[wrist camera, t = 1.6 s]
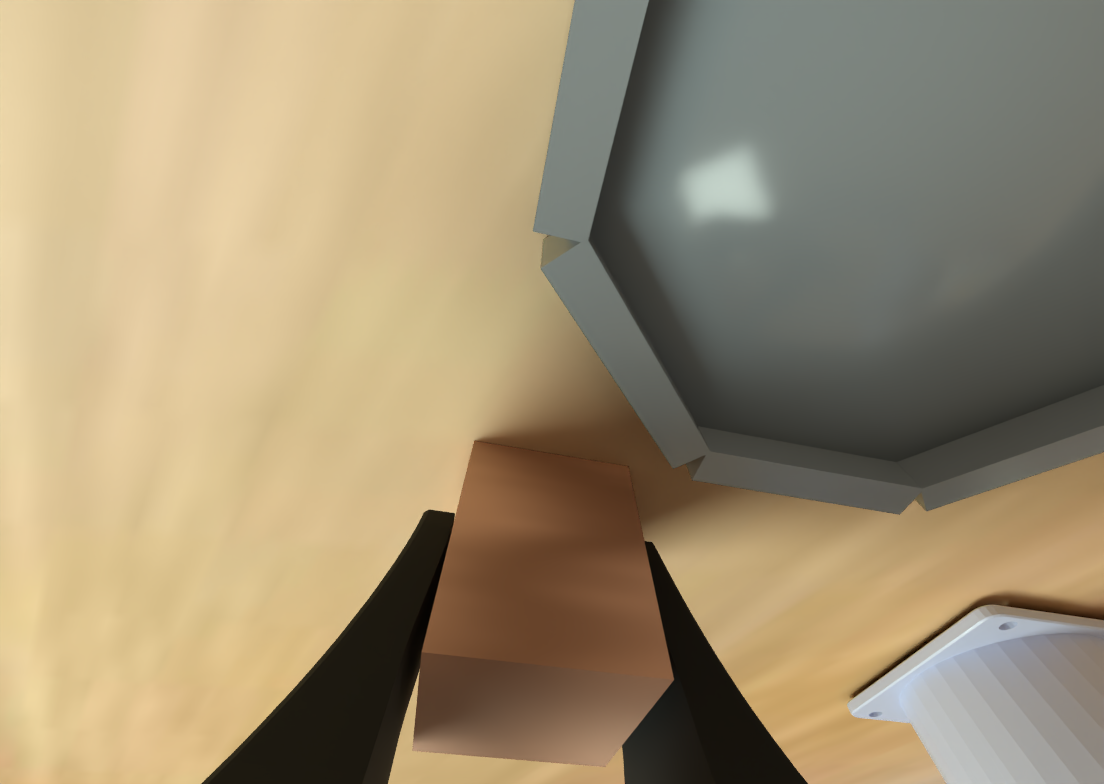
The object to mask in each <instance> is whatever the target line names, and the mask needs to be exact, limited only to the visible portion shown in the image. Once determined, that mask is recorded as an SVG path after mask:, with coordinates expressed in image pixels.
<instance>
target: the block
mask: <svg viewBox="0 0 1104 784" xmlns="http://www.w3.org/2000/svg"><path fill="white" fill-rule="evenodd" d="M673 681H674V677H673V672H672V668H671V663H670V658H669V654H668V649H667V644H666V640H665V635H664V630H663V626H662V621H661V616H660V612H659V607H658V602H657V598H656V593H655V588H654V584H653V579H652V574H651V570H650V565H649V560H648V556H647V551H646V546H645V542H644V537H643V532H642V528H641V523H640V518H639V514H638V509H637V504H636V500H635V495H634V490H633V486H632V481H631V476H630V472H629V467H628V466H623V465H617V464H611V463H605V462H599V461H593V460H587V459H581V458H575V457H569V456H563V455H557V454H551V453H545V452H539V451H533V450H527V449H521V448H515V447H509V446H503V445H497V444H491V443H485V442H479V441H474V444H473V448H472V452H471V456H470V460H469V464H468V468H467V472H466V476H465V480H464V484H463V488H462V492H461V496H460V500H459V504H458V508H457V512H456V516H455V520H454V524H453V528H452V532H451V536H450V540H449V544H448V548H447V552H446V556H445V560H444V564H443V568H442V572H441V576H440V580H439V584H438V588H437V592H436V596H435V600H434V604H433V608H432V612H431V616H430V620H429V624H428V628H427V632H426V636H425V640H424V644H423V648H422V653H421V664H420V674H419V685H418V696H417V707H416V717H415V728H414V739H413V750H412V751H421V752H432V753H444V754H456V755H468V756H480V757H492V758H504V759H516V760H528V761H539V762H551V763H563V764H575V765H587V766H599V767H605V766H606V765H607V764H608V763H609V761H610V760H611V759H612V758H613V756H614V755H615V754H616V752H617V751H618V750H619V749H620V747H621V746H622V745H623V744H624V742H625V741H626V740H627V739H628V737H629V736H630V735H631V734H632V732H633V731H634V730H635V729H636V727H637V726H638V725H639V723H640V722H641V721H642V720H643V718H644V717H645V716H646V715H647V713H648V712H649V711H650V710H651V708H652V707H653V706H654V705H655V703H656V702H657V701H658V699H659V698H660V697H661V696H662V694H663V693H664V692H665V691H666V689H667V688H668V687H669V686H670V684H671V683H672V682H673Z"/></svg>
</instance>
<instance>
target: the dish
mask: <svg viewBox="0 0 1104 784" xmlns="http://www.w3.org/2000/svg"><path fill="white" fill-rule="evenodd" d="M533 232H538V233H542V234H547V235H549V236H548V237H546V238H545V239H543V247H542V258H541V270H542V271H543V273H544V274H545V276H546V277H547V279H548V281H549V282H550V284H551V285H552V287H553V288H554V290H555V291H556V293H557V294H558V296H559V297H560V299H561V300H562V302H563V303H564V305H565V306H566V308H567V309H568V311H569V312H570V314H571V315H572V317H573V318H574V320H575V321H576V323H577V324H578V326H579V327H580V329H581V330H582V332H583V333H584V335H585V337H586V338H587V340H588V341H589V343H590V344H591V346H592V347H593V349H594V350H595V352H596V353H597V355H598V356H599V358H600V359H601V361H602V362H603V364H604V365H605V367H606V368H607V370H608V371H609V373H610V374H611V376H612V377H613V379H614V380H615V382H616V383H617V385H618V386H619V388H620V389H621V391H622V393H623V394H624V396H625V397H626V399H627V400H628V402H629V403H630V405H631V406H632V408H633V409H634V411H635V412H636V414H637V415H638V417H639V418H640V420H641V421H642V423H643V424H644V426H645V427H646V429H647V430H648V432H649V433H650V435H651V436H652V438H653V439H654V441H655V442H656V444H657V445H658V447H659V449H660V450H661V452H662V453H663V455H664V456H665V458H666V459H667V461H668V462H669V464H670V465H671V467H672V468H673V469H674V468H676V467H679V466H681V465H683V464H686V465H687V468H688V471H689V473H690V476H691V478H692V480H694V481H700V482H706V483H712V484H718V485H724V486H730V487H736V488H742V489H748V490H754V491H760V492H766V493H773V494H779V495H785V496H791V497H797V498H803V499H809V500H815V501H821V502H827V503H833V504H839V505H845V506H851V507H857V508H863V509H869V510H875V511H881V512H887V513H893V514H899V515H900V514H901V513H902V512H903V511H904V510H905V508H906V507H907V506H908V505H909V504H910V503H911V502H912V501H913V500H914V499H915V500H916V501H917V502H918V503H919V504H920V505H921V506H922V507H923V509H924V510H925V511H929V510H932V509H935V508H938V507H941V506H944V505H947V504H950V503H953V502H956V501H959V500H962V499H965V498H968V497H971V496H974V495H977V494H980V493H983V492H986V491H989V490H992V489H995V488H998V487H1001V486H1004V485H1007V484H1010V483H1013V482H1016V481H1019V480H1022V479H1025V478H1028V477H1031V476H1034V475H1037V474H1040V473H1043V472H1046V471H1049V470H1052V469H1055V468H1058V467H1061V466H1064V465H1067V464H1070V463H1072V462H1075V461H1078V460H1081V459H1084V458H1087V457H1090V456H1093V455H1096V454H1099V453H1102V452H1104V0H575V3H574V8H573V14H572V19H571V25H570V30H569V36H568V41H567V47H566V52H565V58H564V63H563V69H562V74H561V80H560V85H559V91H558V96H557V102H556V107H555V113H554V118H553V124H552V129H551V135H550V140H549V146H548V151H547V157H546V162H545V168H544V173H543V179H542V184H541V190H540V195H539V201H538V206H537V212H536V217H535V223H534V228H533Z"/></svg>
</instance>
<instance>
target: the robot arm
mask: <svg viewBox="0 0 1104 784" xmlns="http://www.w3.org/2000/svg"><path fill="white" fill-rule="evenodd" d="M454 517H455V513H449V512H442V511H435V510H428V511H426V512H424V514H423V516H422V518H421V520H420V522H419V524H418V525H417V527H416V529H415V531H414V532H413V534H412V536H411V538H410V539H409V541H408V542H407V544H406V546H405V547H404V549H403V550H402V552H401V553H400V555H399V556H398V558H397V559H396V561H395V563H394V564H393V565H392V567H391V568H390V570H389V571H388V572H387V574H386V575H385V577H384V578H383V580H382V581H381V582H380V584H379V585H378V587H377V588H376V589H375V591H374V592H373V594H372V595H371V596H370V598H369V599H368V600H367V602H366V603H365V604H364V605H363V607H362V608H361V609H360V610H359V612H358V613H357V614H356V616H355V617H354V618H353V619H352V621H351V622H350V623H349V624H348V626H347V627H346V628H345V630H344V631H343V632H342V633H341V635H340V636H339V637H338V638H337V639H336V641H335V642H334V643H333V644H332V645H331V647H330V648H329V649H328V650H327V651H326V653H325V654H324V655H323V656H322V657H321V658H320V660H319V661H318V662H317V663H316V664H315V665H314V667H313V668H312V669H311V670H310V671H309V672H308V673H307V674H306V676H305V677H304V678H303V679H302V680H301V681H300V682H299V683H298V685H297V686H296V687H295V688H294V689H293V690H292V691H291V692H290V693H289V694H288V696H287V697H286V698H285V699H284V700H283V701H282V702H281V703H280V704H279V705H278V706H277V707H276V708H275V709H274V710H273V712H272V713H271V714H270V715H269V716H268V717H267V718H266V719H265V720H264V721H263V722H262V723H261V724H260V725H259V727H258V728H257V729H256V730H255V731H254V732H253V733H252V734H251V735H250V736H249V737H248V738H247V739H246V740H245V741H244V742H243V743H242V744H241V745H240V746H239V747H238V748H237V749H236V750H235V751H234V752H233V753H232V754H231V755H230V756H229V757H228V758H227V759H226V760H225V761H224V762H223V763H222V764H221V765H220V766H219V767H218V768H217V769H216V770H215V771H214V772H213V773H212V774H211V775H210V776H209V777H208V778H207V779H206V780H205V781H204V782H203V783H202V784H388V780H389V776H390V772H391V768H392V764H393V759H394V755H395V751H396V747H397V743H398V738H399V735H400V731H401V728H402V724H403V721H404V717H405V714H406V710H407V707H408V704H409V701H410V698H411V695H412V691H413V688H414V685H415V682H416V679H417V676H418V672H419V669H420V664H421V653H422V648H423V644H424V640H425V636H426V632H427V628H428V624H429V620H430V616H431V612H432V608H433V604H434V600H435V596H436V592H437V588H438V584H439V580H440V576H441V572H442V568H443V564H444V560H445V556H446V552H447V548H448V544H449V540H450V536H451V532H452V528H453V524H454ZM644 542H645V546H646V551H647V556H648V560H649V565H650V570H651V574H652V579H653V584H654V588H655V593H656V598H657V602H658V607H659V612H660V616H661V621H662V626H663V630H664V635H665V640H666V644H667V649H668V654H669V658H670V663H671V668H672V672H673V677H674V681H673V682H672V683H671V684H670V686H669V687H668V688H667V689H666V691H665V692H664V693H663V694H662V696H661V697H660V698H659V699H658V701H657V702H656V703H655V705H654V706H653V707H652V708H651V710H650V711H649V712H648V713H647V715H646V716H645V717H644V718H643V720H642V721H641V722H640V723H639V725H638V726H637V727H636V729H635V730H634V731H633V732H632V734H631V735H630V736H629V737H628V739H627V740H626V741H625V742H624V744H623V745H622V749H623V759H624V776H625V784H808V783H807V782H806V781H805V779H804V778H803V777H802V776H801V775H800V773H799V772H798V771H797V770H796V768H795V767H794V766H793V764H792V763H791V762H790V760H789V759H788V758H787V756H786V755H785V754H784V752H783V751H782V750H781V748H780V747H779V746H778V744H777V743H776V742H775V741H774V739H773V738H772V737H771V735H770V734H769V732H768V731H767V730H766V728H765V727H764V725H763V724H762V723H761V721H760V720H759V718H758V717H757V716H756V714H755V713H754V711H753V710H752V709H751V707H750V706H749V704H748V703H747V701H746V700H745V698H744V697H743V696H742V694H741V693H740V691H739V690H738V688H737V687H736V685H735V684H734V682H733V680H732V679H731V677H730V676H729V674H728V673H727V671H726V670H725V668H724V667H723V665H722V663H721V662H720V660H719V659H718V657H717V656H716V654H715V652H714V651H713V649H712V647H711V646H710V644H709V643H708V641H707V639H706V637H705V636H704V634H703V632H702V631H701V629H700V627H699V626H698V624H697V622H696V621H695V619H694V617H693V615H692V614H691V612H690V610H689V608H688V607H687V605H686V603H685V601H684V600H683V598H682V596H681V594H680V592H679V590H678V589H677V587H676V585H675V583H674V581H673V580H672V578H671V576H670V574H669V572H668V570H667V568H666V566H665V565H664V563H663V561H662V559H661V557H660V555H659V553H658V551H657V550H656V548H655V546H654V544H653V543H652V542H647V541H644ZM847 706H848V708H849V710H850V712H851V714H852V715H853V716H854V717H858V718H866V719H876V720H886V721H895V722H905V723H911V725H912V726H913V728H914V730H915V731H916V733H917V735H918V736H919V738H920V740H921V741H922V743H923V745H924V747H925V748H926V750H927V752H928V753H929V755H930V757H931V758H932V760H933V762H934V763H935V765H936V767H937V769H938V770H939V772H940V774H941V775H942V777H943V779H944V780H945V782H946V784H1104V620H1099V619H1092V618H1085V617H1078V616H1071V615H1064V614H1057V613H1050V612H1043V611H1036V610H1029V609H1022V608H1015V607H1008V606H1001V605H984V606H981V607H978V608H976V609H974V610H973V611H971V612H970V613H968V614H967V615H966V616H964V617H963V618H962V619H960V620H959V621H958V622H956V623H955V624H954V625H952V626H951V627H949V628H948V629H947V630H945V631H944V632H943V633H941V634H940V635H939V636H937V637H936V638H934V639H933V640H932V641H930V642H929V643H928V644H926V645H925V646H924V647H922V648H921V649H919V650H918V651H917V652H915V653H914V654H913V655H911V656H910V657H909V658H907V659H906V660H905V661H903V662H902V663H900V664H899V665H898V666H896V667H895V668H894V669H892V670H891V671H890V672H888V673H887V674H885V675H884V676H883V677H881V678H880V679H879V680H877V681H876V682H875V683H873V684H872V685H871V686H869V687H868V688H866V689H865V690H864V691H862V692H861V693H860V694H858V695H857V696H856V697H854V698H853V699H851V700H850V701H849V702H848V704H847Z"/></svg>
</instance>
